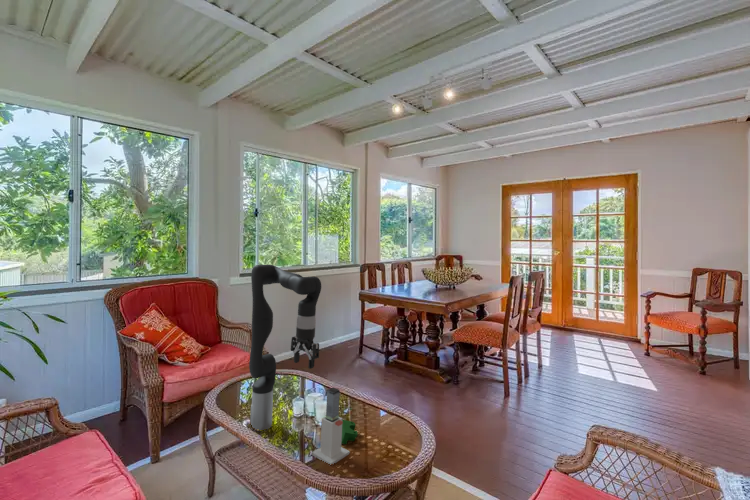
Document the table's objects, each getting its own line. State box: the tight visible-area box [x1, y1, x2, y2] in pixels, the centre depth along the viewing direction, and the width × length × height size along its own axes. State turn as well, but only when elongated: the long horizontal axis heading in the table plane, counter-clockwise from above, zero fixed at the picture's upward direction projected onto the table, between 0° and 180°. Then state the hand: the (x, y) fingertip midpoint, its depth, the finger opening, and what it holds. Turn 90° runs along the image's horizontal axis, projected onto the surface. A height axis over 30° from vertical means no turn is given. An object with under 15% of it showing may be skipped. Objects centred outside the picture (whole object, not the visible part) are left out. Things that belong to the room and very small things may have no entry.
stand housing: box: [311, 416, 351, 466], centre depth 151 cm, size 11×11×15 cm
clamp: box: [341, 419, 359, 445], centre depth 164 cm, size 12×6×9 cm, turn 5°
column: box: [325, 387, 340, 422], centre depth 151 cm, size 4×4×20 cm
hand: (303, 365), depth 149 cm, fingers open, 8 cm apart
